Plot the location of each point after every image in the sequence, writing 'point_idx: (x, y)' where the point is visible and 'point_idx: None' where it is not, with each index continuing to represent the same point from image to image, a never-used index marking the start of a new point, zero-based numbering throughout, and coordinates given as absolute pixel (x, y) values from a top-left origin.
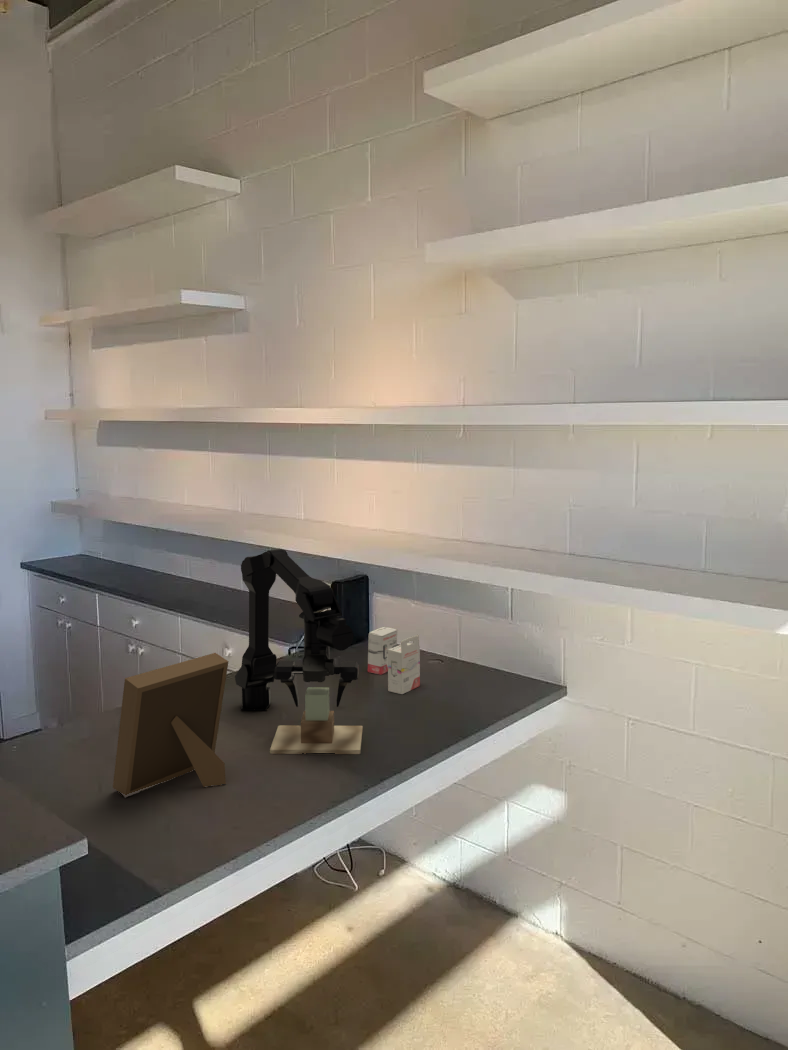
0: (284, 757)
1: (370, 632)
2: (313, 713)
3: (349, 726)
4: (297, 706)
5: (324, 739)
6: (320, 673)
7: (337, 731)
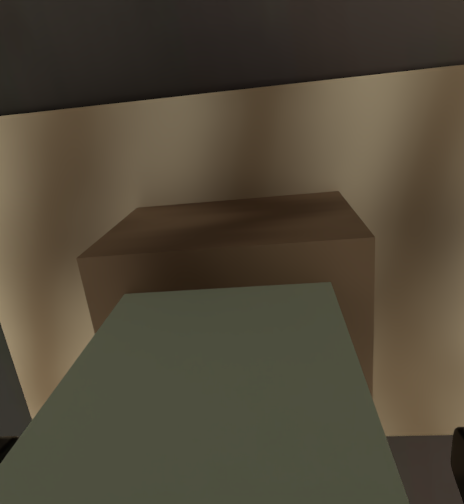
0: (430, 6)
1: None
2: (250, 319)
3: None
4: (462, 428)
5: (178, 211)
6: None
7: None
